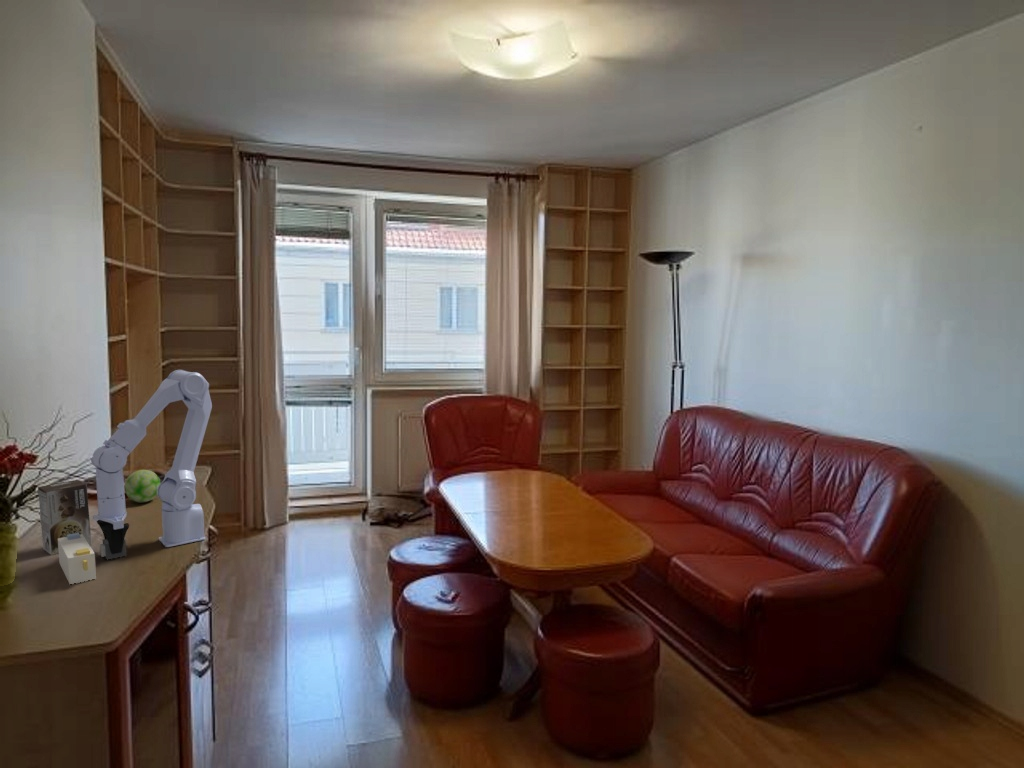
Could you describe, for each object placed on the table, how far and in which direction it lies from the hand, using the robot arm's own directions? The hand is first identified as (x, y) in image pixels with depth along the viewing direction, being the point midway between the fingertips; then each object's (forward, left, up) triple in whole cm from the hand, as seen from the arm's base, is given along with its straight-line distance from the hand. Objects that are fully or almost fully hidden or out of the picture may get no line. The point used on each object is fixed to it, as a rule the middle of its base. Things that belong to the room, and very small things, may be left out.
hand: (114, 550), depth 168 cm
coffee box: (+8, -14, -2) cm, 16 cm away
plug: (0, 0, -1) cm, 1 cm away
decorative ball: (-16, -45, -2) cm, 48 cm away
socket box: (+9, +5, -2) cm, 10 cm away
